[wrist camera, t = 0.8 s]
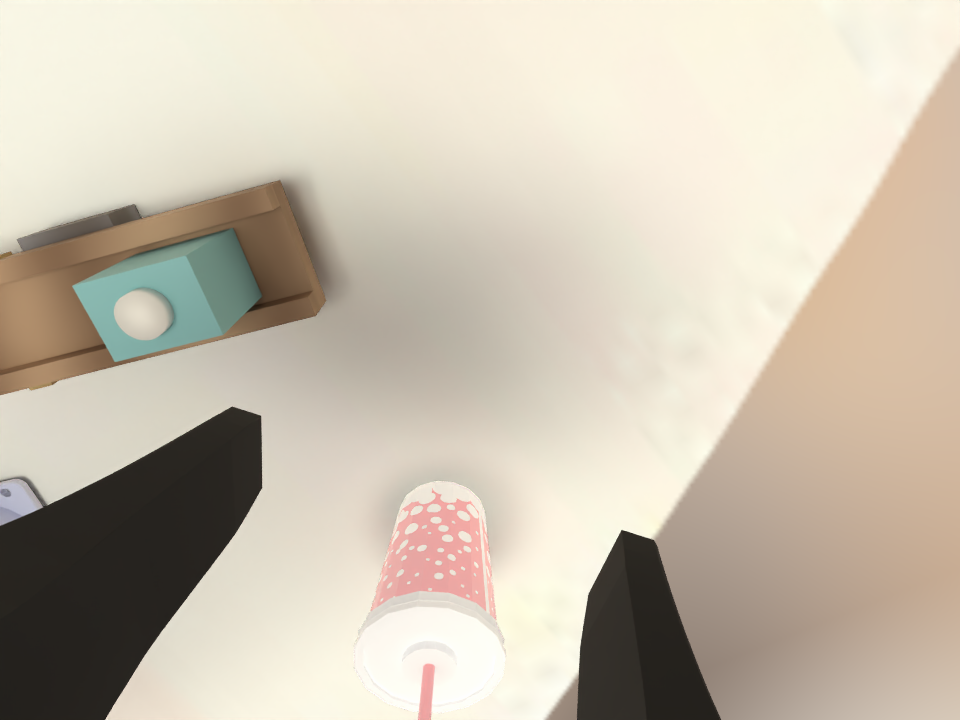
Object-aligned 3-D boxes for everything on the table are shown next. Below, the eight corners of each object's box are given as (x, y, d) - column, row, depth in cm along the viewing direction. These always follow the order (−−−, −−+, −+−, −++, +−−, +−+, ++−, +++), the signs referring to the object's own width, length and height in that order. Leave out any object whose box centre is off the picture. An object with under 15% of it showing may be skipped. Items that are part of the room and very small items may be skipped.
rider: (169, 320, 24) (105, 369, 20) (135, 253, 23) (60, 291, 19) (262, 296, 24) (216, 341, 20) (232, 227, 23) (177, 260, 19)
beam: (-14, 386, 29) (-81, 427, 26) (-94, 268, 27) (-179, 296, 23) (340, 296, 27) (320, 327, 24) (289, 160, 25) (259, 173, 21)
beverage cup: (362, 498, 32) (283, 775, 19) (463, 449, 31) (451, 712, 18) (423, 575, 34) (389, 869, 21) (519, 533, 33) (544, 820, 20)
